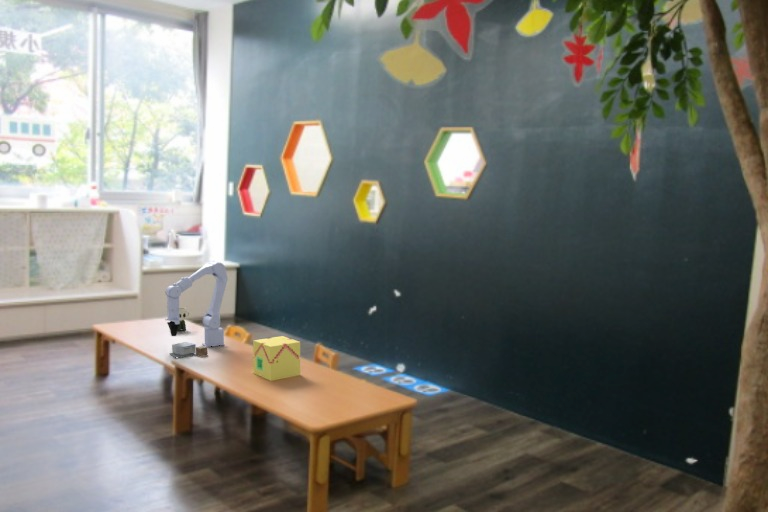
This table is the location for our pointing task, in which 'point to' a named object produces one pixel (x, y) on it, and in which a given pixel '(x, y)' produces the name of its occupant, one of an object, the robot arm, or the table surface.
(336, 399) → the table surface
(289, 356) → the toy block
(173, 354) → the mat
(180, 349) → the medicine box
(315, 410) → the table surface
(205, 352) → the walnut block
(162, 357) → the table surface
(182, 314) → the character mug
